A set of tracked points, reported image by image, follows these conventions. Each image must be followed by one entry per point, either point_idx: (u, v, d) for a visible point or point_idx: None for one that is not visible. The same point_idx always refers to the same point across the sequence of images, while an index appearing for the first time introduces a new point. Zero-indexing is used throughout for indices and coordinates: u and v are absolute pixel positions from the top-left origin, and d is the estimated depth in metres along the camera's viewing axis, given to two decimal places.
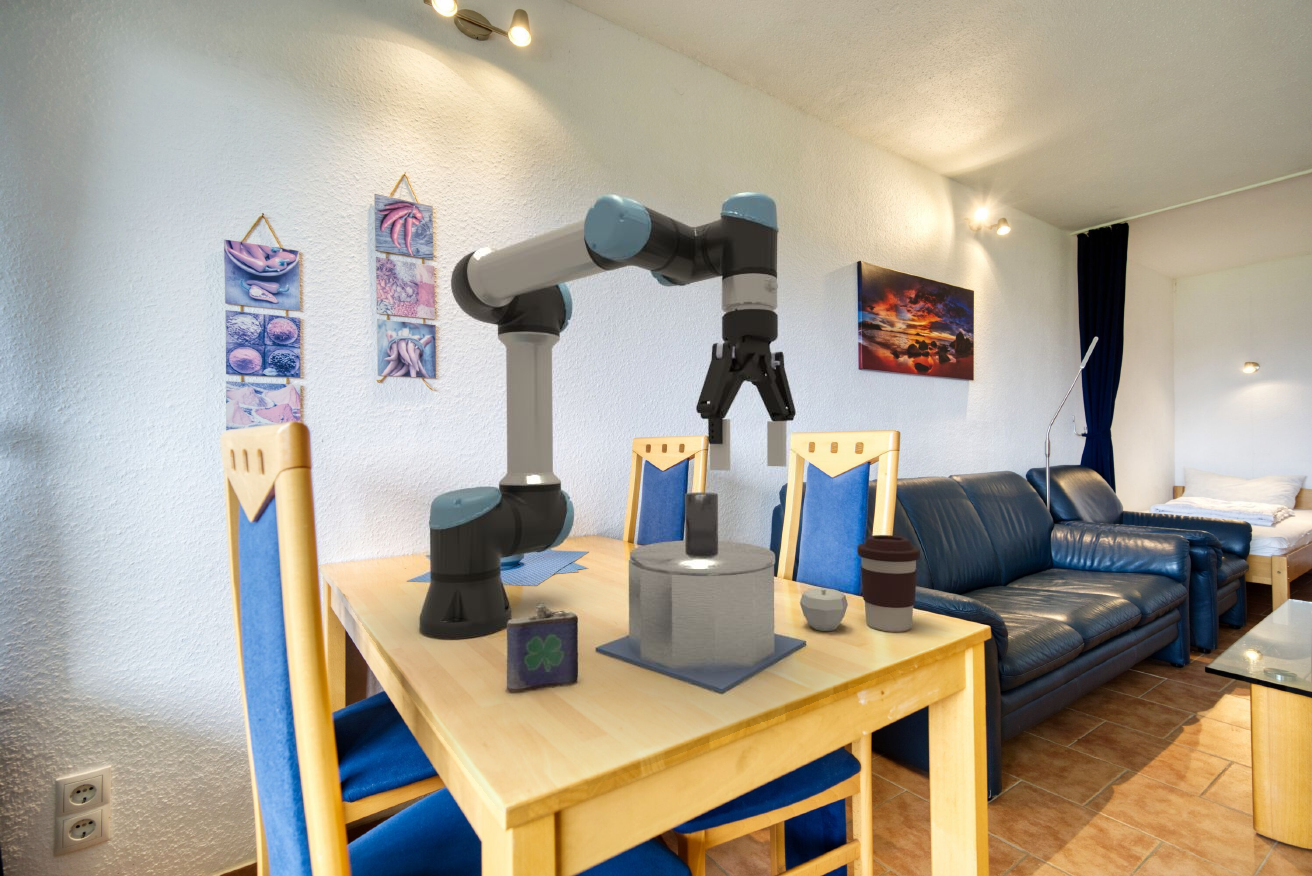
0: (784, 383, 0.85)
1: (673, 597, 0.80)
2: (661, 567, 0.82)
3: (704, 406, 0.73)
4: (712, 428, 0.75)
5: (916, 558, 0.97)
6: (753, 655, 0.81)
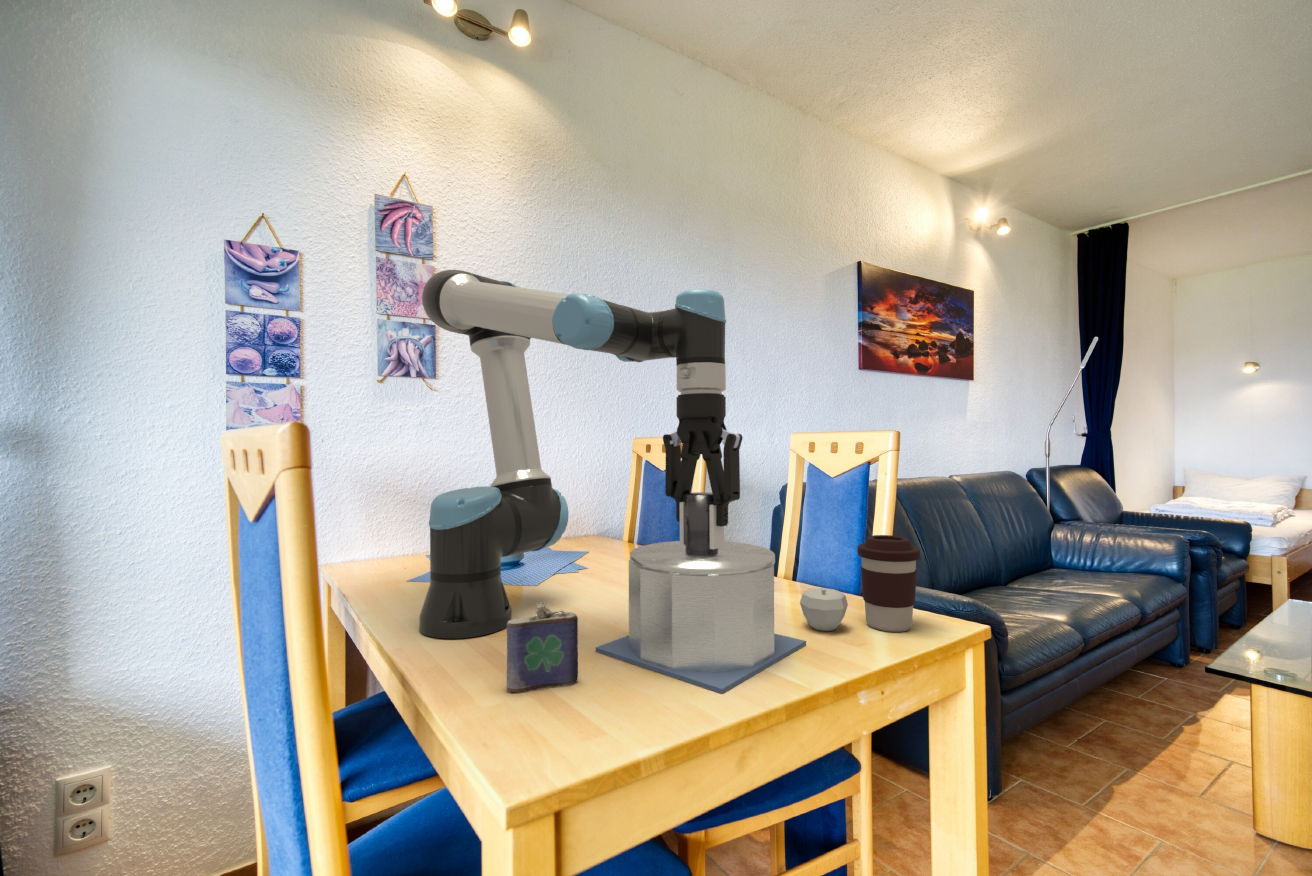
0: None
1: (673, 597, 0.80)
2: (661, 567, 0.82)
3: None
4: None
5: (916, 558, 0.97)
6: (753, 655, 0.81)
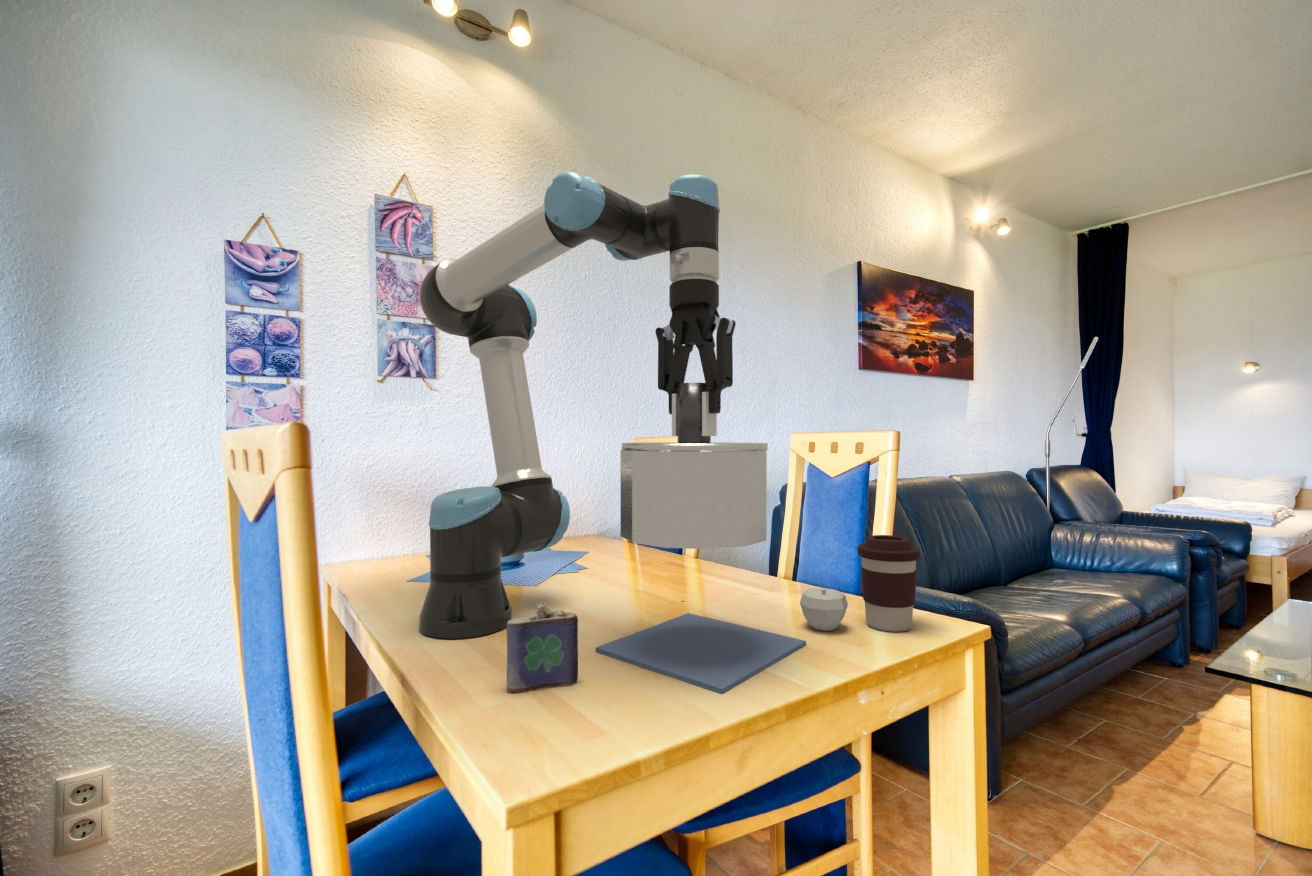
0: (716, 349, 0.86)
1: (665, 474, 0.80)
2: (653, 445, 0.81)
3: None
4: None
5: (916, 558, 0.97)
6: (745, 534, 0.81)
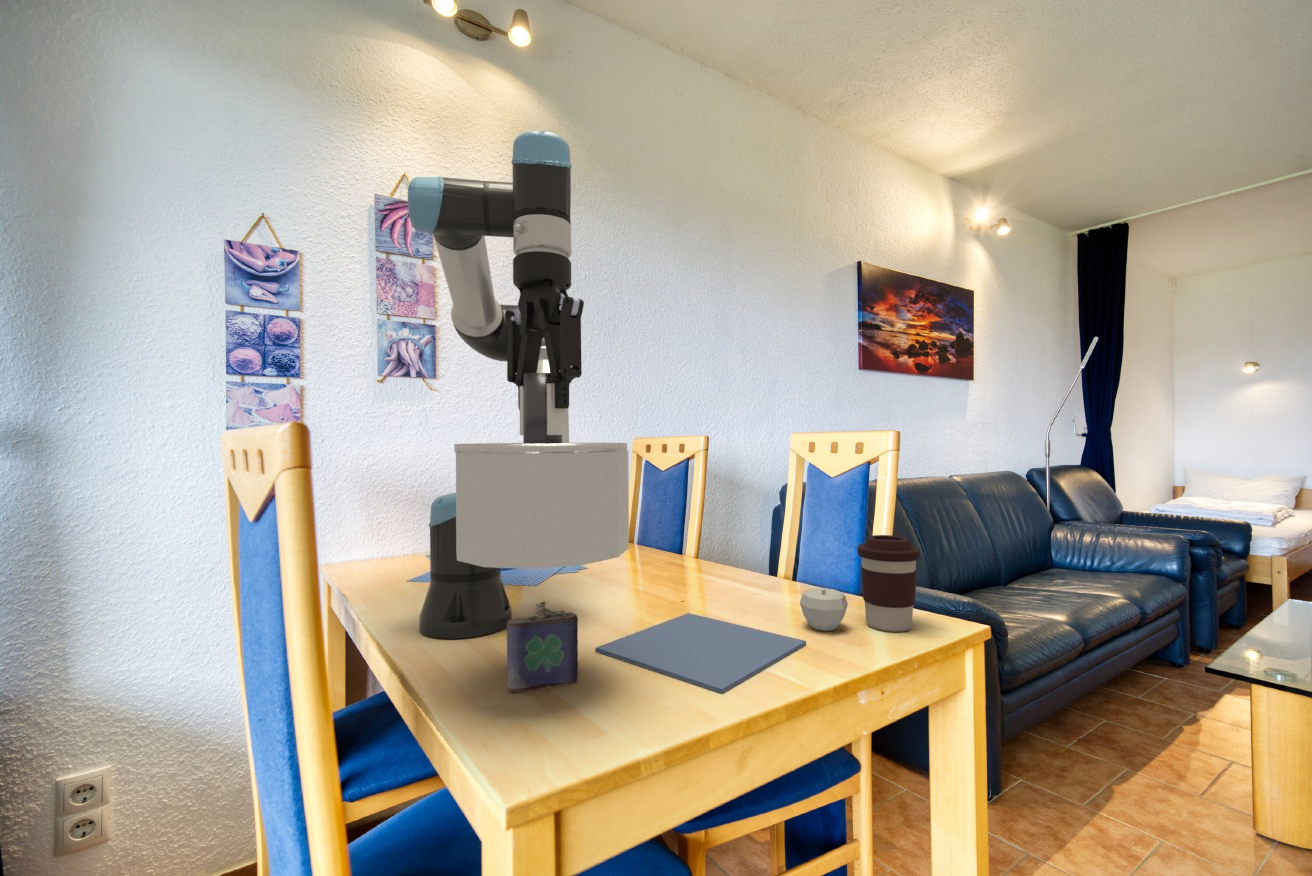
0: (560, 333, 0.73)
1: (485, 480, 0.67)
2: (473, 446, 0.69)
3: None
4: None
5: (916, 558, 0.97)
6: (582, 551, 0.68)
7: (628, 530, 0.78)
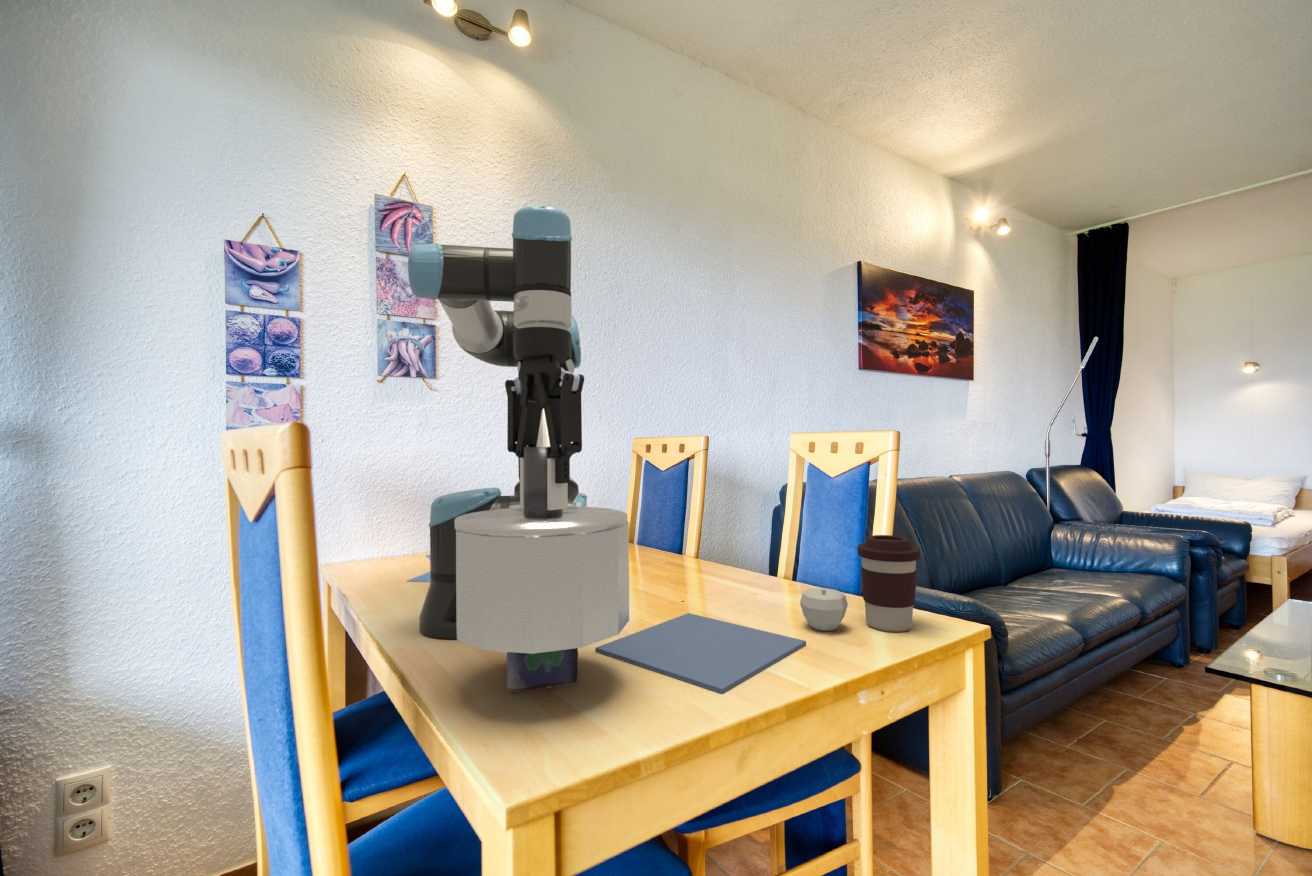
0: (560, 409, 0.73)
1: (485, 563, 0.67)
2: (473, 528, 0.68)
3: None
4: None
5: (916, 558, 0.97)
6: (583, 633, 0.68)
7: (628, 602, 0.78)
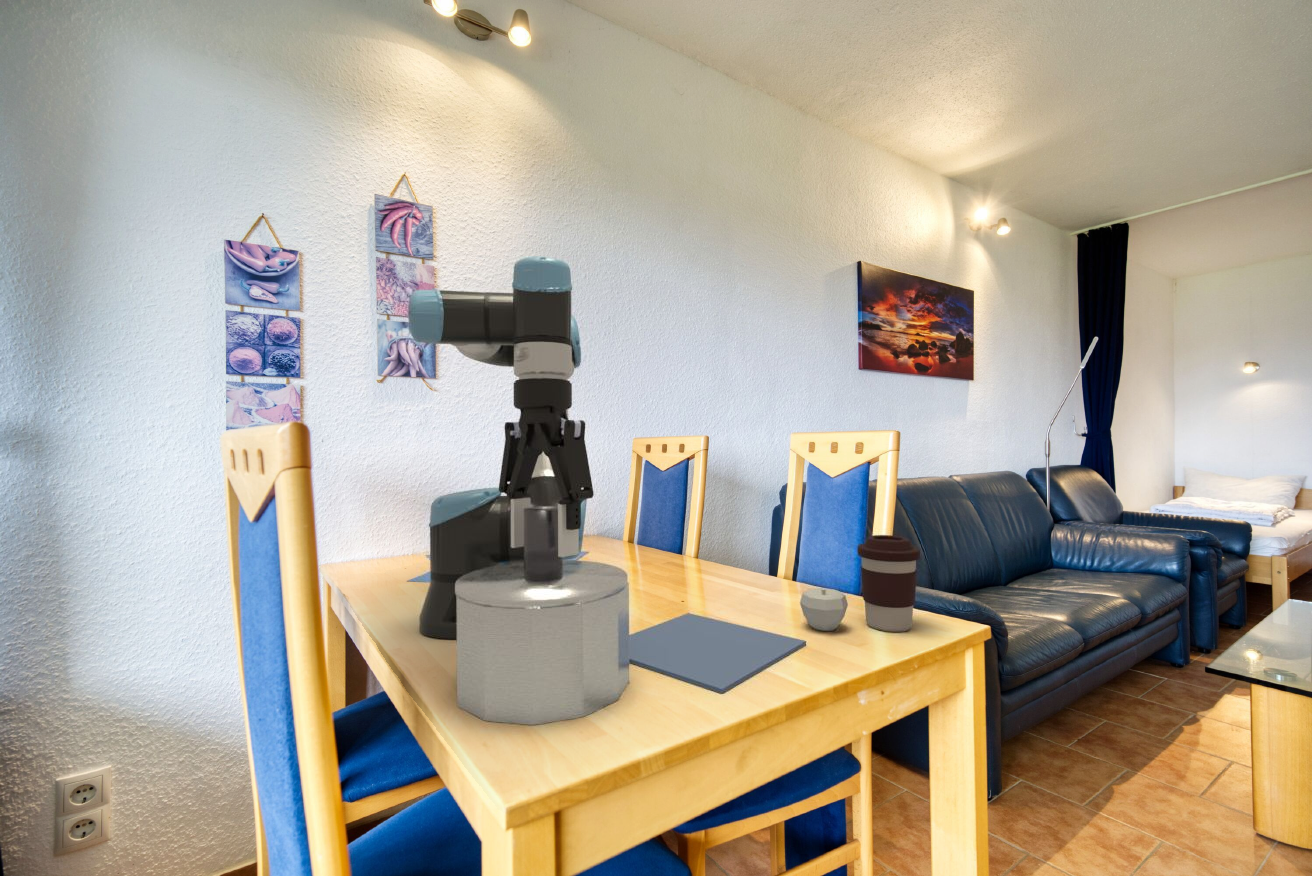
0: (566, 457, 0.73)
1: (486, 634, 0.67)
2: (474, 597, 0.69)
3: None
4: None
5: (916, 558, 0.97)
6: (583, 703, 0.68)
7: None
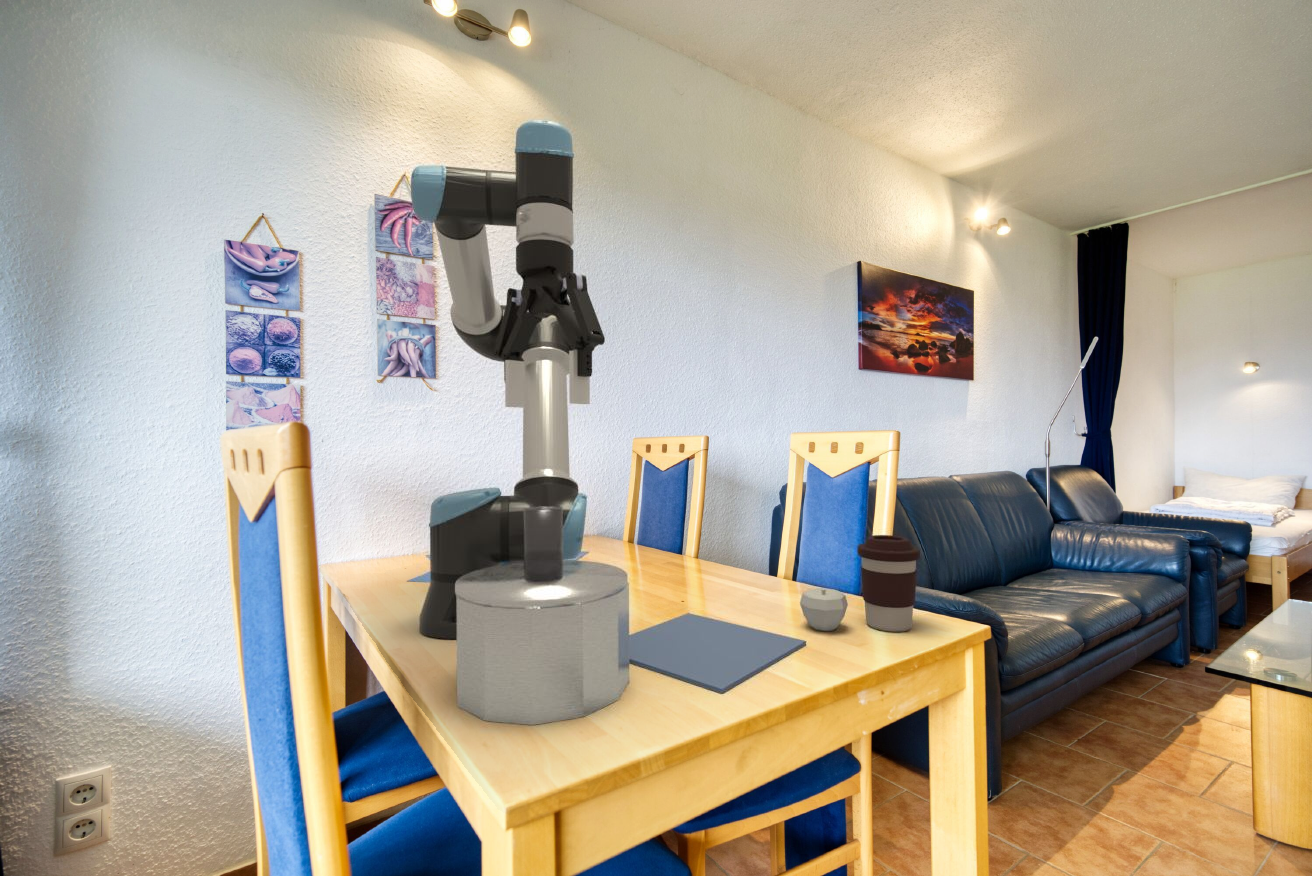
0: (572, 307, 0.73)
1: (486, 634, 0.67)
2: (474, 597, 0.69)
3: None
4: None
5: (916, 558, 0.97)
6: (583, 703, 0.68)
7: None
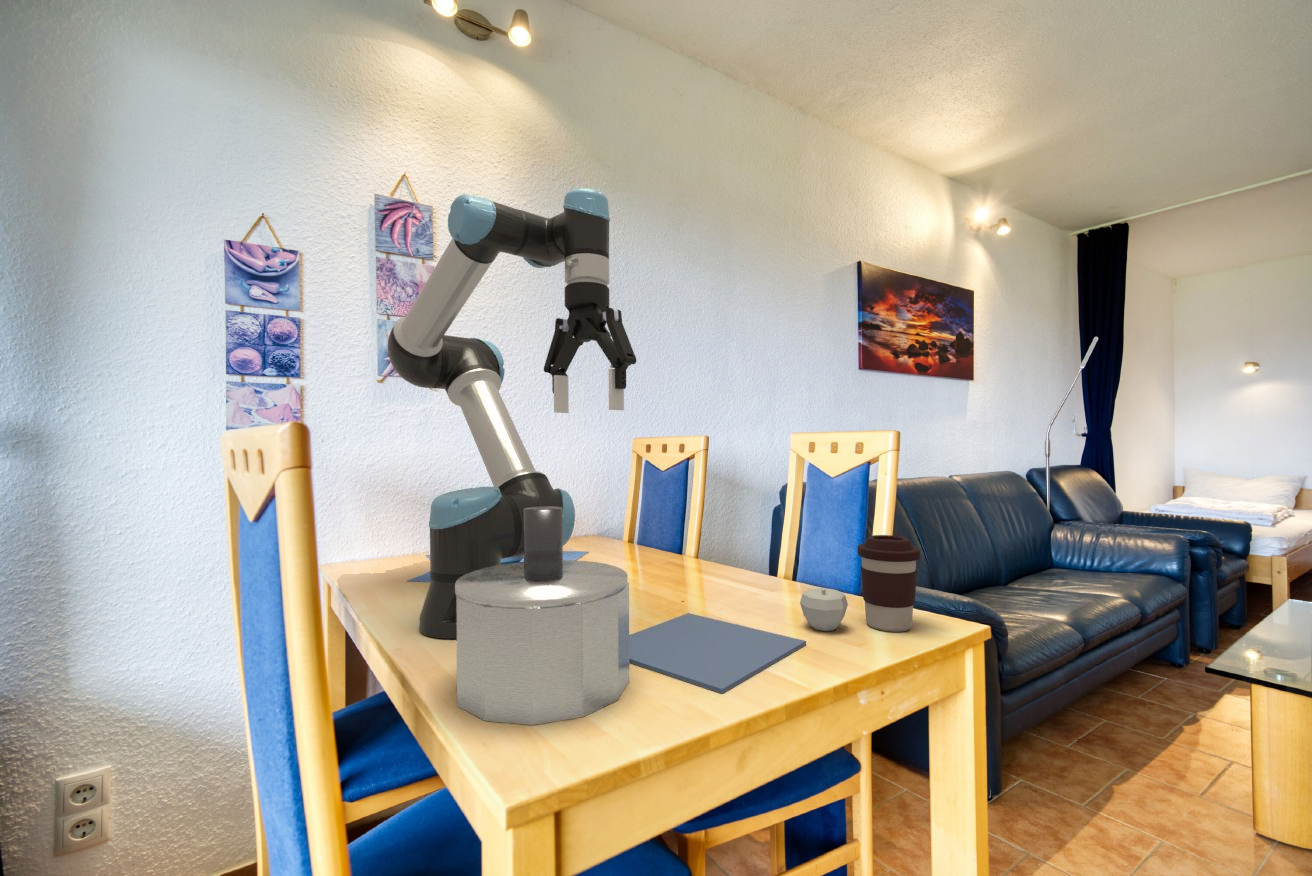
0: (611, 335, 0.94)
1: (486, 634, 0.67)
2: (474, 597, 0.69)
3: None
4: None
5: (916, 558, 0.97)
6: (583, 703, 0.68)
7: None
